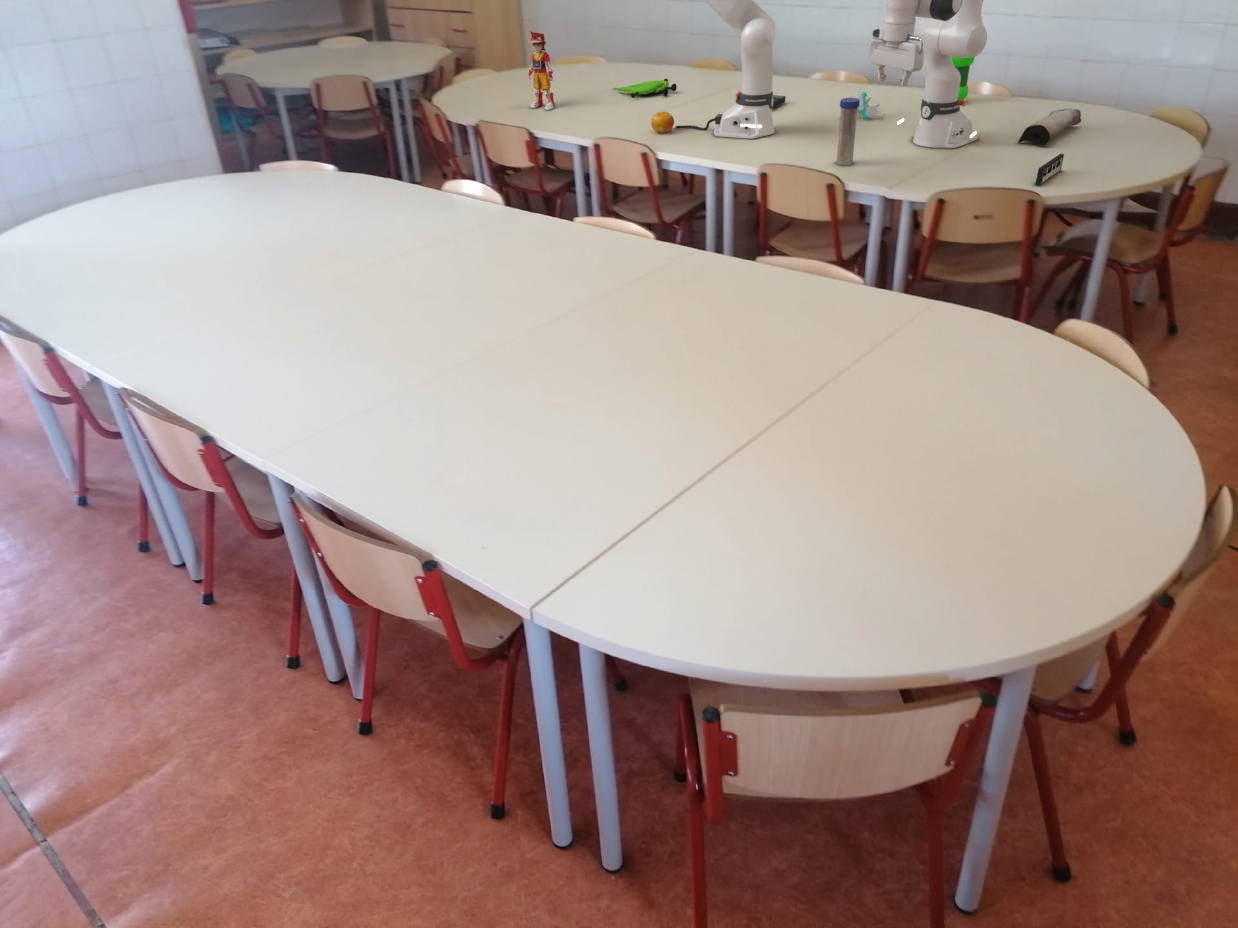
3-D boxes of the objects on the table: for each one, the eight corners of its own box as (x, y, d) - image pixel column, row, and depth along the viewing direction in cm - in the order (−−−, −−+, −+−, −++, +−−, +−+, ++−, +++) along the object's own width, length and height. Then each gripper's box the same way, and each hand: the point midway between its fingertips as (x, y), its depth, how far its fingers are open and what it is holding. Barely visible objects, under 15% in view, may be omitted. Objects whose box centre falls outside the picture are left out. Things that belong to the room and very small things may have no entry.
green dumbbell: (973, 101, 354) (984, 32, 339) (955, 106, 349) (966, 36, 335) (952, 97, 361) (962, 29, 346) (934, 102, 356) (944, 33, 342)
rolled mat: (1047, 113, 322) (1072, 96, 314) (1061, 134, 323) (1087, 117, 314) (1013, 137, 305) (1039, 118, 297) (1028, 159, 305) (1054, 142, 297)
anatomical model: (845, 88, 346) (871, 81, 345) (848, 116, 352) (873, 109, 351) (857, 98, 334) (883, 90, 333) (859, 126, 340) (885, 119, 339)
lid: (850, 110, 284) (851, 103, 283) (836, 107, 288) (836, 100, 287) (863, 106, 287) (863, 99, 286) (848, 103, 291) (848, 96, 290)
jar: (845, 166, 295) (851, 104, 283) (833, 163, 298) (838, 101, 287) (855, 163, 297) (861, 101, 286) (843, 160, 301) (848, 98, 289)
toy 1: (525, 109, 381) (517, 32, 364) (534, 104, 388) (527, 28, 371) (550, 110, 377) (543, 32, 360) (559, 105, 384) (553, 28, 367)
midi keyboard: (1039, 185, 269) (1043, 168, 266) (1035, 184, 270) (1038, 168, 267) (1060, 170, 279) (1064, 154, 277) (1056, 169, 280) (1060, 153, 277)
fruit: (644, 124, 337) (655, 105, 334) (651, 127, 345) (662, 108, 342) (662, 136, 336) (673, 117, 333) (668, 139, 344) (680, 120, 341)
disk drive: (770, 111, 358) (785, 102, 368) (771, 104, 356) (785, 95, 366) (747, 109, 362) (762, 100, 372) (747, 102, 361) (762, 93, 371)
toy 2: (686, 85, 398) (631, 84, 414) (685, 72, 395) (629, 72, 411) (651, 104, 381) (596, 103, 397) (650, 92, 378) (594, 91, 394)
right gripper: (932, 36, 257) (924, 87, 265) (883, 27, 273) (877, 76, 280) (915, 39, 255) (908, 90, 263) (867, 30, 270) (862, 79, 278)
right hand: (892, 83), depth 272 cm, fingers open, 8 cm apart
